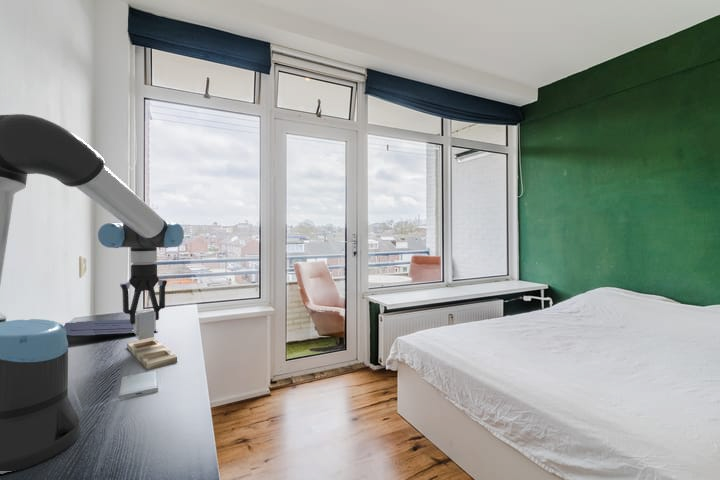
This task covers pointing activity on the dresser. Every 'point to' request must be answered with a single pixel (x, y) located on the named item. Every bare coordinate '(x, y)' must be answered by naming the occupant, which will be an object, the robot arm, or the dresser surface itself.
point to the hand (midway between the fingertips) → (144, 331)
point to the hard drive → (138, 384)
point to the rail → (151, 353)
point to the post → (145, 324)
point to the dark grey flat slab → (99, 327)
